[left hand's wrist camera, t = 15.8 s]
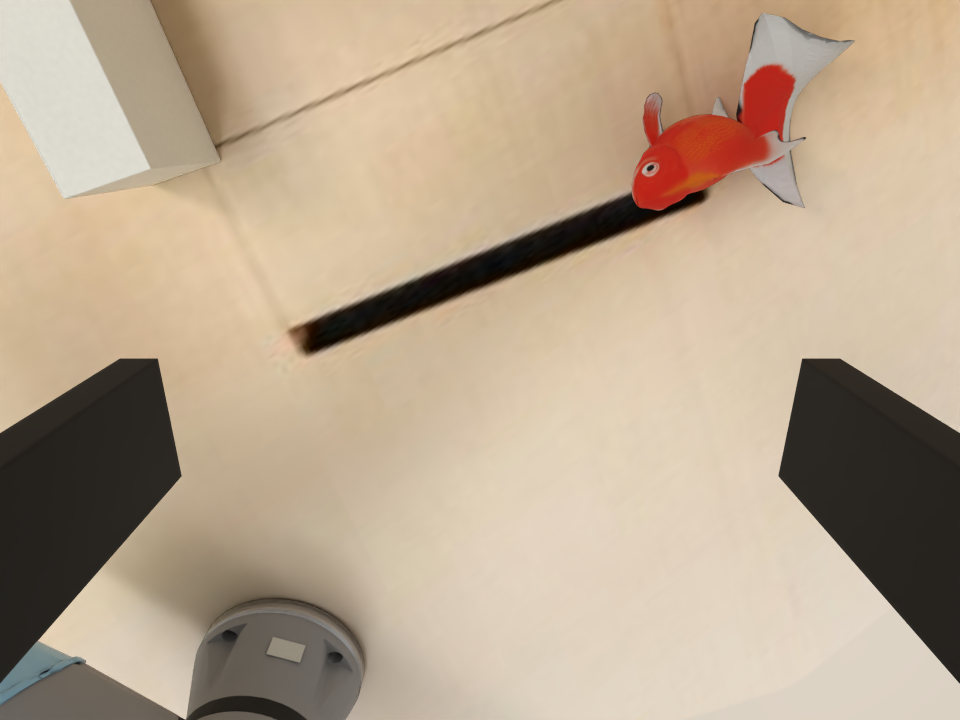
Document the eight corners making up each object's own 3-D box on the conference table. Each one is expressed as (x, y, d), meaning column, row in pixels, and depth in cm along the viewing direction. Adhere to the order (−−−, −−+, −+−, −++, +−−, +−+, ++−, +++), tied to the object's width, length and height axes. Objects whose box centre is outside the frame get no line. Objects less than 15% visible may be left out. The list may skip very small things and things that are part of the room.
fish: (582, 41, 34) (717, 67, 27) (777, -17, 39) (935, -8, 32) (587, 214, 41) (696, 272, 34) (752, 146, 46) (878, 184, 39)
